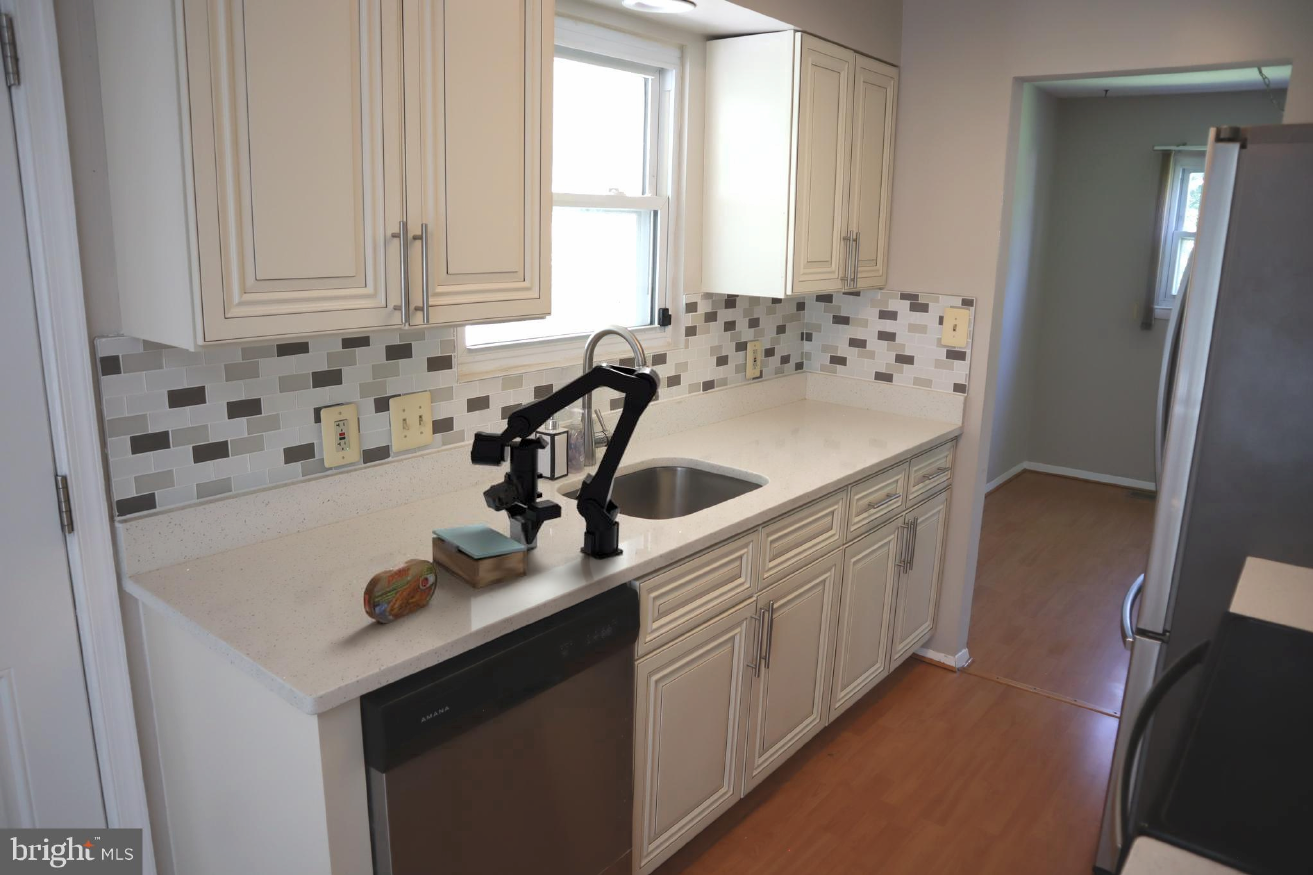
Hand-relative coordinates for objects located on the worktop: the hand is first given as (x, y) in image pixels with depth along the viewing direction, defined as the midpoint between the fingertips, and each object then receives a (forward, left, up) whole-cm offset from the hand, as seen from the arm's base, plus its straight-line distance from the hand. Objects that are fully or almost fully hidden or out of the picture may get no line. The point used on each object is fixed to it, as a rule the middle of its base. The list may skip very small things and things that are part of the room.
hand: (523, 541), depth 189 cm
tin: (+34, +14, -1) cm, 37 cm away
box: (+14, +5, -1) cm, 14 cm away
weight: (0, 0, -1) cm, 1 cm away
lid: (+14, +5, +4) cm, 15 cm away
